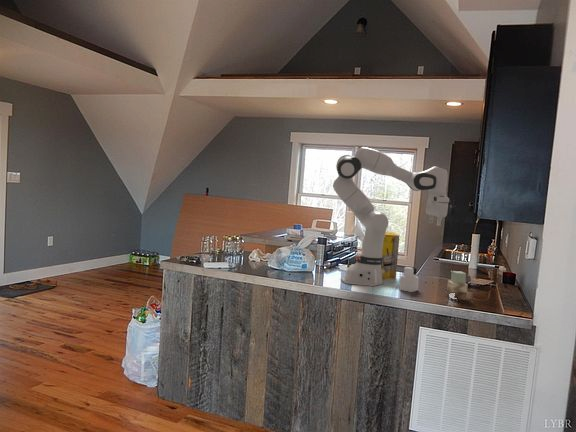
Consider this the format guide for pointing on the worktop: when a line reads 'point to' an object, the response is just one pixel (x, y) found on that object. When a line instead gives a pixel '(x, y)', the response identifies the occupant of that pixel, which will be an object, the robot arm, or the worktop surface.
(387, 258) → the packaging box
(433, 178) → the robot arm
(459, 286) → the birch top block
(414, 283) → the medicine bottle
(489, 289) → the worktop surface
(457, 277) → the sage cube
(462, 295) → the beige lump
